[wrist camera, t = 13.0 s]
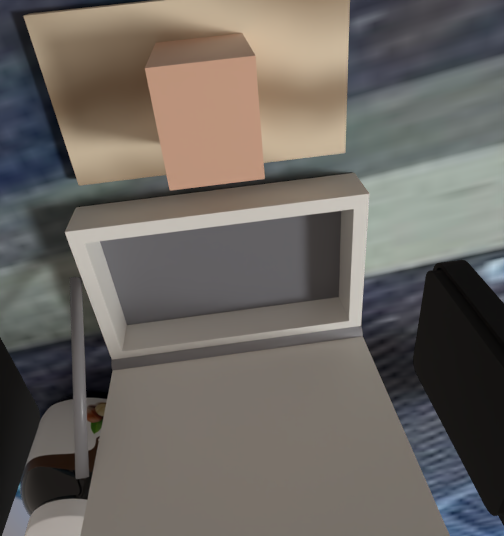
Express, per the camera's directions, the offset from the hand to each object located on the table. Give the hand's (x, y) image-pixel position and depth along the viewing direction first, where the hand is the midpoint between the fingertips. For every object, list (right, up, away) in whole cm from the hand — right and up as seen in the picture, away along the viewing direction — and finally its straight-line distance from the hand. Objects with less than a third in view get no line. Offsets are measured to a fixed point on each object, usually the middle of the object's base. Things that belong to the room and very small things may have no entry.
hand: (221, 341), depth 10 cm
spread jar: (-13, -11, +35) cm, 39 cm away
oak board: (-2, +13, +19) cm, 23 cm away
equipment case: (-1, +2, +26) cm, 26 cm away
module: (-2, +12, +18) cm, 22 cm away
